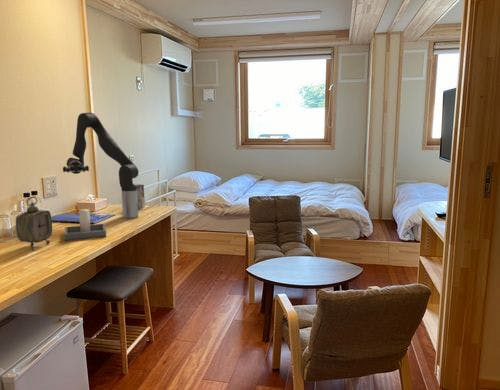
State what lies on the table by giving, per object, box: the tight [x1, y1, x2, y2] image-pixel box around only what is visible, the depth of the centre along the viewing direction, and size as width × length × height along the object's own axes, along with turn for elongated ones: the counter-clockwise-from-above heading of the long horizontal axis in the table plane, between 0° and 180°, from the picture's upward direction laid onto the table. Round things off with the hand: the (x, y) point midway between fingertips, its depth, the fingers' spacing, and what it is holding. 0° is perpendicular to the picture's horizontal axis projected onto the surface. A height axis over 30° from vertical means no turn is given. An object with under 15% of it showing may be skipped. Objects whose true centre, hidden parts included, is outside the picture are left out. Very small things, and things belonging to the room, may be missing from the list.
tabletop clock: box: [15, 196, 53, 252], centre depth 198 cm, size 14×9×25 cm, turn 168°
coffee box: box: [135, 184, 146, 211], centre depth 281 cm, size 9×6×16 cm
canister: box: [78, 208, 91, 232], centre depth 219 cm, size 5×5×13 cm
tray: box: [64, 223, 107, 242], centre depth 220 cm, size 20×15×4 cm
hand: (76, 170), depth 239 cm, fingers open, 8 cm apart
